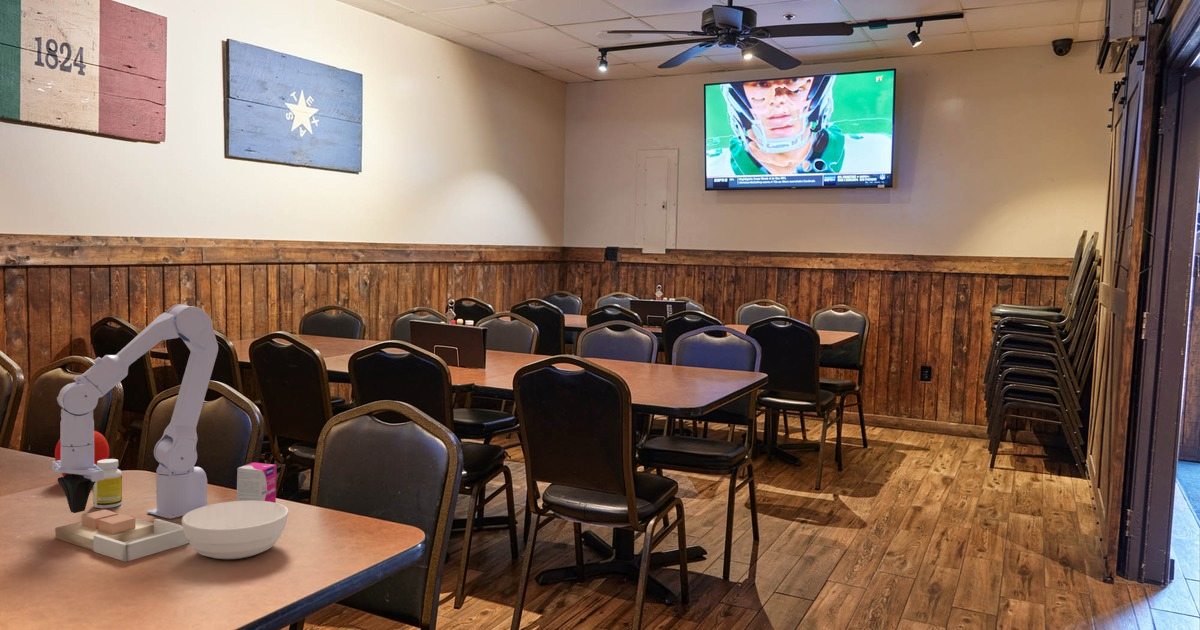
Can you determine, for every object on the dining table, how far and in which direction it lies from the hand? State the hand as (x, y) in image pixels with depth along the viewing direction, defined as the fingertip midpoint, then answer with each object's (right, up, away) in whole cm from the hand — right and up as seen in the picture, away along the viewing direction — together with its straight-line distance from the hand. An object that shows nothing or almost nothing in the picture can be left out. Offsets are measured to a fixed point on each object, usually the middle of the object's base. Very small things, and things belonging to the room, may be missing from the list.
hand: (77, 511), depth 173 cm
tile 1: (+7, -2, -4) cm, 8 cm away
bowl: (+36, -5, -11) cm, 38 cm away
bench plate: (+8, -4, -4) cm, 10 cm away
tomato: (-19, -1, +34) cm, 39 cm away
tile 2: (+11, -2, -6) cm, 13 cm away
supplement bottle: (-3, -2, +16) cm, 16 cm away
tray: (+18, -4, -10) cm, 21 cm away
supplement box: (+32, -4, +9) cm, 33 cm away
